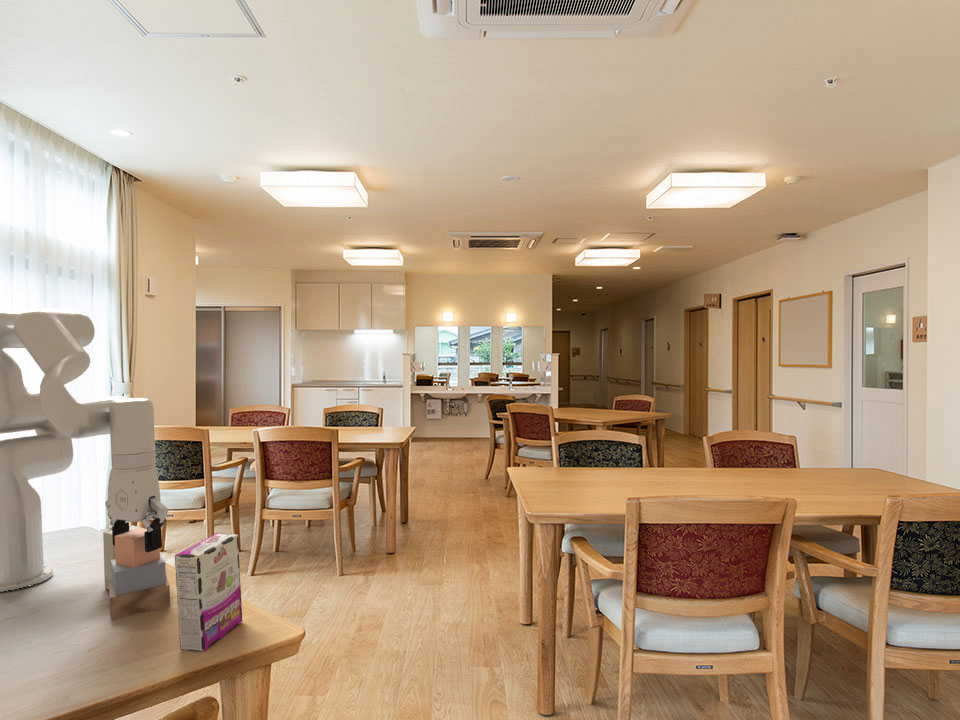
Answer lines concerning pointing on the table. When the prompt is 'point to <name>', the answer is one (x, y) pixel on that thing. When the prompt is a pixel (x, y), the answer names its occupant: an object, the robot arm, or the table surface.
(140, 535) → the terracotta cube
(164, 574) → the slate grey top block
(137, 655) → the table surface
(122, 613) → the walnut base block
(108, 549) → the skincare box
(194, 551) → the candy bar box
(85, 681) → the table surface
